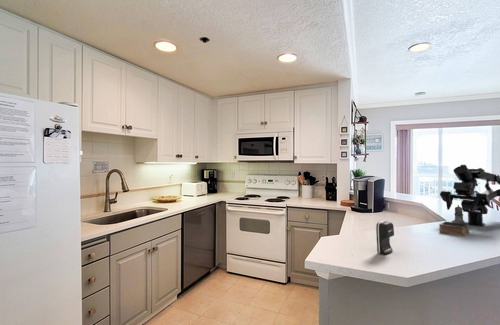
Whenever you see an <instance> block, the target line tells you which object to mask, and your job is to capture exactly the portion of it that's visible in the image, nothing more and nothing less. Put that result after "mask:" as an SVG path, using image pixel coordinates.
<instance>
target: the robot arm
mask: <svg viewBox="0 0 500 325" xmlns="http://www.w3.org/2000/svg"><path fill="white" fill-rule="evenodd" d="M453 173H454V174H455V176H456V178H457V180H459V182H458V181H457V182H453V183H454V184H453V186H452V187H453V189H454V190H455V191H454V192H455V193H456V194H455V193H454V194H453V193H452V192H451V191H448V190H445V191H444V190H442V191H440V193H439V196H440V198H441V199H442V201H443V202H445V204H446V209H447V210H448V211H449V210H450V209H451V207H452V205H453V201H454V199H459V200H461V203H460V204H461V206H460V207H461V208H462V213H467V221H466V222H467V223H466V224H469V226H470V225H471V226H478V227H479V226H481V227H484V226H485V225H486V223H485V222H484V220H483V215H487V214H488V211H489V210H488V208H487V206H489V205H490V204H491V201H492V200H493V199H495V198H497V197H500V175H499V174H497V173H496V174H494V173H490V172H486V171H485V169H484V168H481V167H469V168H468V167H467V165H466V164H460V166H457V167H455V168H454V169H453ZM478 180H483V181H486V183H485V185H484V187H485V191H483V192H482V193H479V192H477V193H475V189H476V187H478V186H479V183H478ZM489 182H494V183H495V182H496V183H497V184H490V183H489Z"/></svg>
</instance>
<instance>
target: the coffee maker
mask: <svg viewBox="0 0 500 325" xmlns="http://www.w3.org/2000/svg"><path fill="white" fill-rule="evenodd" d="M375 226H376V227H375V231H376V233H375V234H376V252H377V253H378V254H380V255H381V254H382V255H388V254H390V253H392V252H393V251H394V250H393V248H392V246H391V241H390V239H391V238H392V237H394V236H395V230H394V224H393V222H390V221H386V220H381V221H379V222H377V223H376V225H375Z"/></svg>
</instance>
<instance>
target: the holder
mask: <svg viewBox="0 0 500 325" xmlns="http://www.w3.org/2000/svg"><path fill="white" fill-rule="evenodd" d="M439 233H440V234H447V235H448V234H449V235H453V236H460V237H466V236H467V235H468V234H470V224H461V223H454V222H451V221H443V222H440V223H439Z"/></svg>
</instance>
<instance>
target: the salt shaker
mask: <svg viewBox="0 0 500 325" xmlns="http://www.w3.org/2000/svg"><path fill="white" fill-rule="evenodd" d="M450 222H454V223H461V224H466V223H467V222H468V221H465V220H464V213H463V209H462V206H460V204H457V206H455V207H454V219H453V220H451V221H450Z"/></svg>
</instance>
